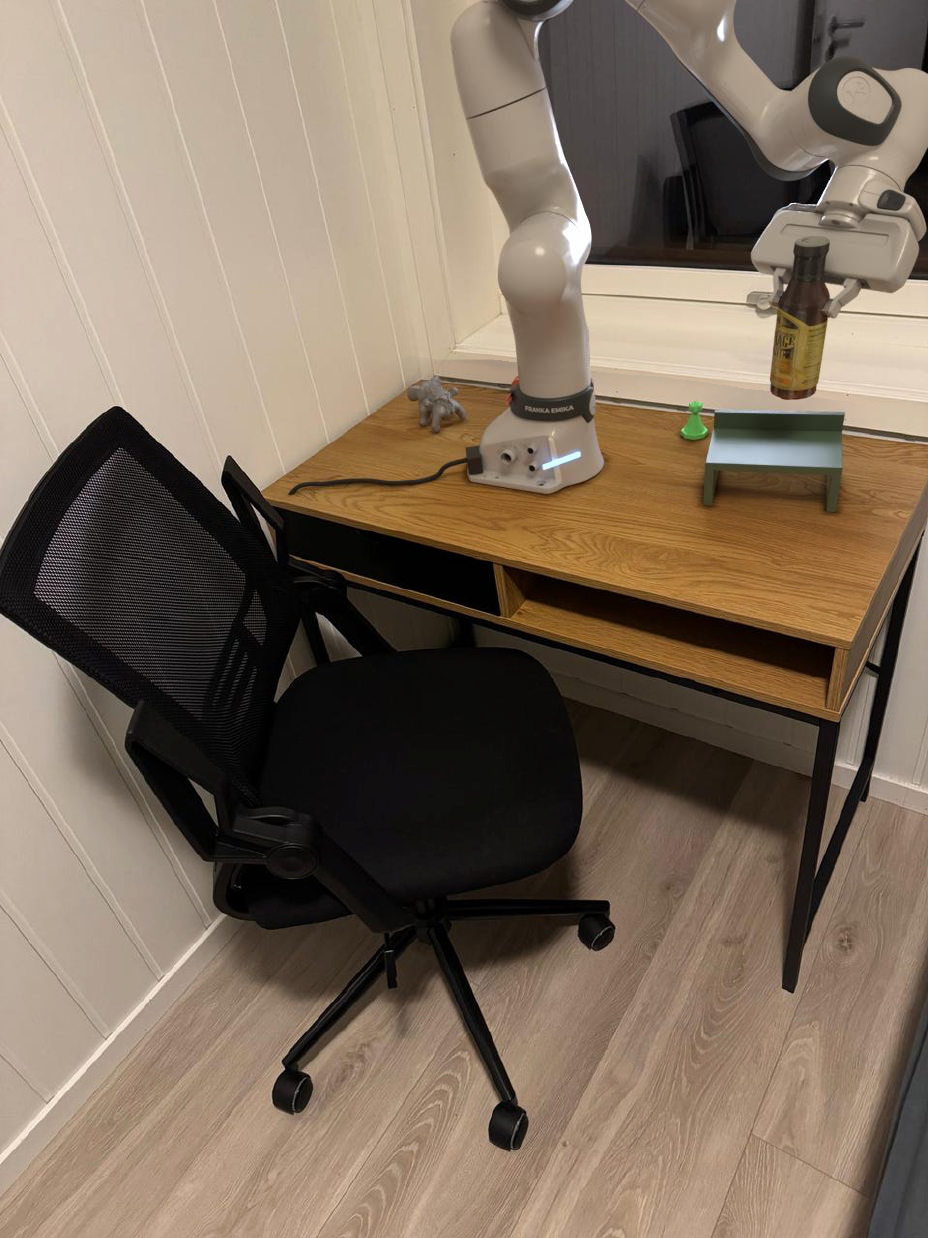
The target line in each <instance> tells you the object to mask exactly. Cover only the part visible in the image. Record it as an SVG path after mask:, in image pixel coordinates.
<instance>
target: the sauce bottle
mask: <svg viewBox="0 0 928 1238" xmlns="http://www.w3.org/2000/svg"><path fill="white" fill-rule="evenodd" d="M829 245H830V241H829V239H827V238H825V237H820V236H809V237H803V238H800V239H798V240H797V241H796V242H795V244H794V250H793V253H794V263H793V271H792V274H791V279H790V281H789V283H788V284H787V285H786V288H785V289H784V294H783V296H782V298H781V301H780V303H779V305H778V308H777V311H776V320H775V321H776V322H775V327H774V328H775V329H774V337H773V346H772V355H771V356H772V357H771V365H770V366H771V367H770V375H769V382H770V384H769V385H770V387H769V389H770V390H769V391H770V393H771V394H772V395H773V396H774V397H776V398H780V399H781V400H785V401H789V400H790V401H791V400H794V401H795V400H797V401H798V400H803V399H807V398H809V397H812V396H814V395H815V394H816V391H817V387H818V386H817V385H818V383H819V380H820V374H821V367H822V362H823V361H822V360H823V354H824V347H825V341H826V335H827V327H828V322H829V317H824V316H823V314H822V313H821V309H822V307H823V306H824V305H825V301H826V299H827V298H830V299H831V294H830V291H829V289H828V287H827V283H825V282H824V280H823V277H824V274H825V272H824V268H825V262H826V255H827V253H828V252H829Z"/></svg>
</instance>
